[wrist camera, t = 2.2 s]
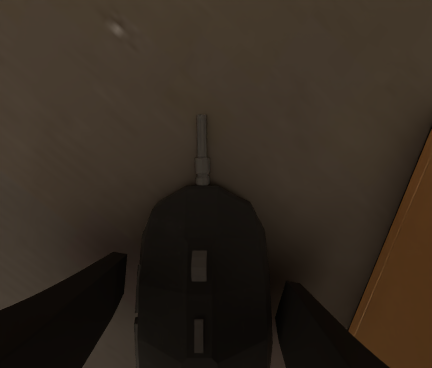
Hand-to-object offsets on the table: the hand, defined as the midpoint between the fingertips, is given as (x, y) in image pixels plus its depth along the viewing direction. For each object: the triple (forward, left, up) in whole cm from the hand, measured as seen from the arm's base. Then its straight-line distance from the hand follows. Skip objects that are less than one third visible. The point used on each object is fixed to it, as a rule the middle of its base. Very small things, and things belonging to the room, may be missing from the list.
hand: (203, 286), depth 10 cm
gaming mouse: (0, 0, -2) cm, 2 cm away
